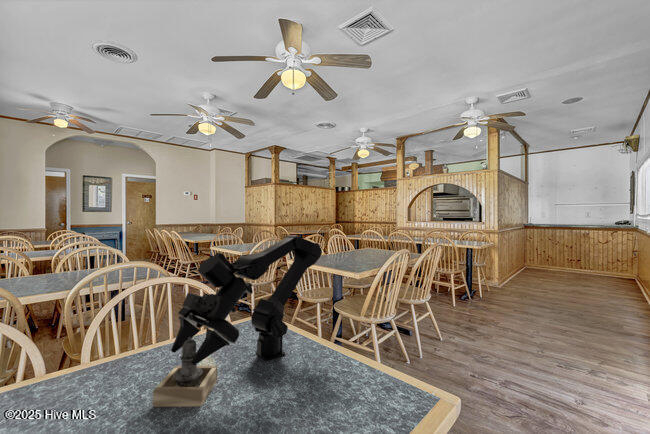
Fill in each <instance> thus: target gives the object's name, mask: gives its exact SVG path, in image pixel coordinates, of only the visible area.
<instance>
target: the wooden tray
mask: <svg viewBox="0 0 650 434" xmlns="http://www.w3.org/2000/svg"><path fill="white" fill-rule="evenodd" d="M196 366H197V367H198V368H201V369H202V370H203V373H202V375H201V378H200V380H199V382H198V383H199V384H200V386H199V387H179V386H178V385H177V383H176V380H175V378H174V375H175V374H176V373H177V372H178V371H180V370H181V367H182V365H175V366H174V368H173V369H171V371H170V372H169V373H168V374H167V375H166V376H165V377H164V378H163V379H162V380H161V381H160V382H159V383H158V385H156V387H154V389H153V390H152V391H153V393H152V407H153V408H154V407H155V408H156V407H157V408H158V407H159V408H161V407H163V408H166V407H168V408H169V407H171V408H173V407H176V408H178V407H179V408H180V407H202V406H203V404H204V403H205V401H206V400H207V398H208V396H209V394H210V393H211V391H212V390H213V388H214V386H215V385H216V383H217V382H218V365H196Z"/></svg>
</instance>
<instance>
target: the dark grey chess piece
mask: <svg viewBox="0 0 650 434" xmlns="http://www.w3.org/2000/svg"><path fill="white" fill-rule="evenodd" d="M188 339H189V340H187V341H185V342H184V343H183V346H182V347H181V350H182V351H181V353H182V354H181V356H180V358H179V359H180V361H181V366H182V367H181V370H180V371H178V372H177V373H176V374H175V375H174V378H175V380H176V383H177V385H178V386H179V387H199V386H200V384H199V383H198V382H199V380H200V378H201V375H202V373H203V370H202V369H201V368H198V367H197V366H198V365H197V364H196V365H193V364H192V363H191V361H192V360H193V358H194V356H195V354H196V353H197V341H195V340H193V339H192V338H191V337H189V338H188Z"/></svg>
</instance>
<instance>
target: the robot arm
mask: <svg viewBox="0 0 650 434" xmlns="http://www.w3.org/2000/svg"><path fill="white" fill-rule="evenodd" d="M322 250H323V249H322V247H321V245H320V244H319V243H317V242H312V241H310V240H307V239H305V238H304V237H302V236H300V235H296V234H295V235H294V234H293V235H291V234H289V235H286V236H285V238H283V239H281V240H279V241H277V242H276V243H274V244H273V245H270V246H269V247H267V248H265V249H262V250H261V251H259V252H255V253H250V254H246V255H243V256H241V257H238V258H237V259H236V260H235V261H233V262H230V261H229V260H228V259H227V258H226V256H225V254H223V253H221V252H216V253H215V254H214V255H213V256H210V257H208V258H207V259H206V260H203V261H202V262H201V264H200V265H199V267H198V269H197V273H198V274H199V275H201V277H203V279H205V280H206V281H207V282H208V283H209V284H210V285H211V286H212V287H213V288H219V289H218V290H217V291H216V293H204V294H203V295H199V294H196V293H195V294H194V293H192V292H187V294H186V296H185V298H184V301H183V302H182V305H181V306H182V307H181V308H180V310H179V311H178V313H177V314H178V320H179V323H180V324H179V325H180V327H179V329H178V333H177V335H176V336H175V339H174V342H173V345H172V347H171V349H170V352H172V353H177V352H178V351H179V350H181V349H182V346H183V343H184V342H185V341H187V340H189V339H188V338H189V337H191V339H192V338H194V337H195V336H196V335H197V334H198V333H199V332H200V331H201V330H200V328H202V327H206V332H205V333H206V334H205V338H204V341H202V343H201V345H200V346H199V348H198V350H196V354H195V356H194V358H193V360H192V361H191V363H192V364H193V365H196V366H197V365H198V364H199V363H200V362H203V361H204V360H205V359H206V358H208V357H209V356H211V355H212V354H214V353H216V352H217V351H220V349H223V348H224V347H226V346H230V344H231V343H232V344H233V345H234V344H235V343H236V342H237V341H238V339H239V338H240V330H239V329H238V328H237V327H235V326H234V325H233V324H232V323H231V322H230V321H229V320H226V319H227V317H229V315H230V313H231V314H232V313H233V314H234V313H235V312H236V311H237V308H235V306H236V305H237V303H239V301H240V300H241V298H242V297H243V295H244V294H245V293H246V294H250V295H252V294H253V286H252V285H253V284H252V283H251V282H247V281H245V280H244V279H247V280H252V281H257V280H259V279H260V278H262V276H263V275H265V274H266V273H267V272H268V270H269V267H270V266H271V265H272V264H274V263H275V262H277V261H279V260H280V259H282V258H283V257H285V256H287V255H288V254H289V253H291V252H293V262H292V263H291V265H290V267H289V268H288V270H287V271H286V272H285V274H284V276H283V277H282V278H281V280H280V282H279V283H278V285H277V286H276V288H275V290H274V291H273V292H272V294H271V296H270V297H269V298H267V299H263V298H260V300H259V301H258V303H257V304H256V306H255V307H254V308H253V309H252V311H253V312H252V313H251V316H250V319H251V325H252V326H253V327H254V331H255V332H257V333H258V339H257V340H256V351H255V353H256V354H257V355H258V356H260V358H262V360H264V361H269V360H273V359H275V358H279V357H282V356H285V355H286V352H285V351H284V350H283V339H284V335H287V333H288V328H289V326H288V325H287V324H286V323H285V322H284V321H283V319H284V316H285V305H286V303H287V301H289V299H290V297H291V295H292V294H293V292H294V290H295V289H296V287H297V286H298V284H299V282H300V281H301V279H302V277H303V275H304V274H305V272H306V271H307V270H308V269H309V268H311V267H313V265H316V263H317V262H318V260H319V259H320V258H321V256H322V253H323V251H322Z"/></svg>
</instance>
